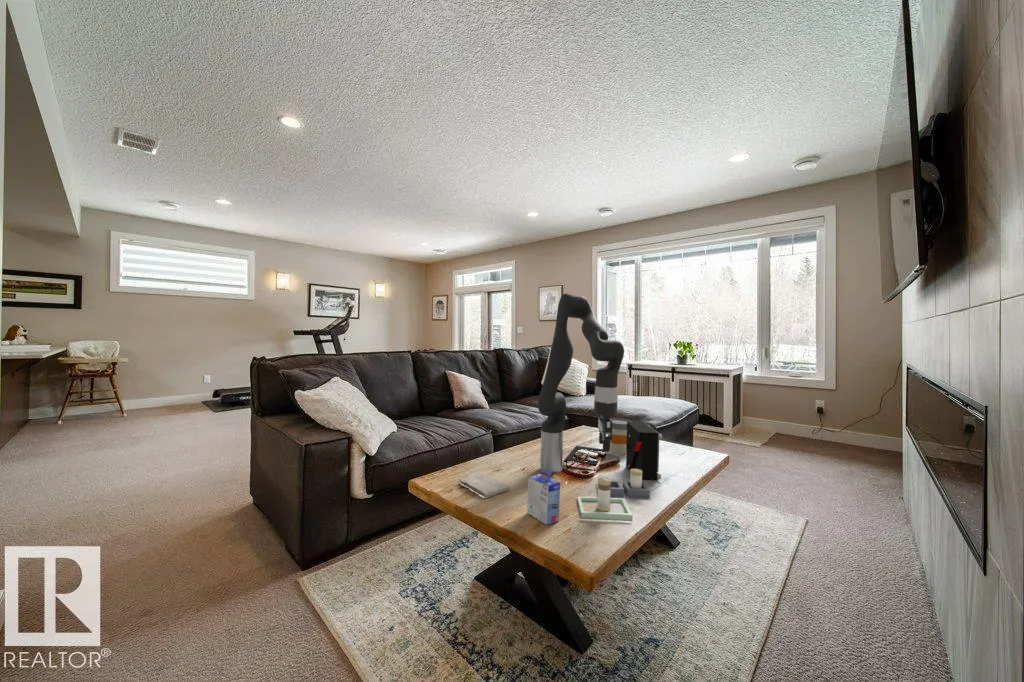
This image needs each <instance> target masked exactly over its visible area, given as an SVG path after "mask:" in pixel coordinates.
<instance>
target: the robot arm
mask: <svg viewBox="0 0 1024 682" xmlns="http://www.w3.org/2000/svg"><path fill="white" fill-rule="evenodd" d="M556 311H557V313H556V320H555V328H554V334H553V338H552V341H551V348H550V351H549V356H548V362H547V367H546V371H545V376H544V380H543V382H542V386H541V390H540V393H539V396H538V400H537V409H538V412H539V414H541V415H542V416H545V417H546V416H547V418H546V419H545V420H544V421H543V422H542V423H541V427H540V461H539V462H540V466H539V469H540V474H542V472H543V470H546V471H548V472H551V475H555V473H560V472H562V471H563V451H564V450H563V445H564V444H563V443H564V439H563V438H564V437H563V436H564V427H565V425H566V415H567V401H566V398H565V396H564V395H563V394H562V392H557V391H558V387H559V386H560V383H561V382H562V380H564V379H563V378H564V377H565V376H566V375H567V373H568V372H569V370H570V367H571V364H572V359H573V355H574V348H573V347H574V346H573V344H572V341H571V339H570V336H569V332H568V320H569V318H572V319H580V320H581V321H582V325H581V332H582V334H583V337H584V338H585V340H586V341H587V342H588V344H589V348H590V352H591V353H590V354H591V356H592V358H593V359H594V360H595V361H598V362H608V363H607V364H606V366H605V367H601V368H599V369H597V370H596V374H595V387H594V403H593V405H594V406H593V407H594V408H593V412H594V414H596V415H598V420H597V423H598V424H597V429H598V444H600V445H602V449H603V452H605V453H610V452H611V451H610V441H611V440H612V424H613V423H612V420H611V419H612V418H611V417H612V416H616V415H617V414H618V400H619V398H618V397H619V395H618V394H619V392H618V376H619V372H620V368H621V365H622V362H623V359H624V356H625V348H624V345H623V343H622V342H621V341H619V340H617V339H616V340H615V339H614V340H613V339H612V340H611V339H609V334H608V332H607V331H606V330H605V328H604V327H603V326H602V324H601V323H600V322H599V320H598V319H597V317H596V315H595V312H594V311H593V309H592V306H591V304H590V303H589V300H588V298H586V297H585V296H583V295H579V294H572V293H563V294H562V295H561V296H560V298H559V300H558V305H557V310H556ZM608 435H609V436H608ZM545 474H547V473H545ZM547 475H548V474H547Z"/></svg>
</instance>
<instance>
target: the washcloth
mask: <svg viewBox="0 0 1024 682" xmlns="http://www.w3.org/2000/svg"><path fill="white" fill-rule="evenodd" d="M459 482H461V483H462V484H464V485H466V486H467V487H469V488H471V489H472V490H473V491H475V492H477V493H478V494H480V495H482V496H484V497H485V498H484V499H487V498H486V497H489V498H491V497H490V496H492V495H494V494H497V495H499V494H498V493H501V494H503V493H506V492H508V491H510V487H509V485H508V484H506V483H504V482H502V481H500V480H498V479H497V478H494V477H493V476H490V475H488V474H486V473H484V472H479V473H477V474H475V475H468V476H464V477H461V478H460V479H459V480H458V483H459ZM505 491H506V492H505ZM502 492H503V493H502ZM494 496H495V495H494ZM492 497H493V496H492Z"/></svg>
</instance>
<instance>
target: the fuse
mask: <svg viewBox="0 0 1024 682" xmlns="http://www.w3.org/2000/svg"><path fill="white" fill-rule="evenodd" d="M611 480H612V479H611V478H610V477H607V476H599V477H597V485H598V492H597V497H598V501H597V505H596V507H597V509H598V510H599V511H600V512H609V511H610V510H611V502H610V489H611Z"/></svg>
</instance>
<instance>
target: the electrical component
mask: <svg viewBox="0 0 1024 682" xmlns="http://www.w3.org/2000/svg"><path fill="white" fill-rule="evenodd" d="M662 439H663V434H662V433H659V431H657V430H656V429H654V428H653V427H652V426H651V425H650V424H647V423H646V422H643V421H632V422H627V445H626V454H625V455H626V456H625V468H627V471H629V472H630V469H640V470H642V481H654V482H655V481H656V482H657V483H659V480H661V479H662V474H661V473H660V472H659V470H660V469H659V466H660V464H659V463H660V440H662Z"/></svg>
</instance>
